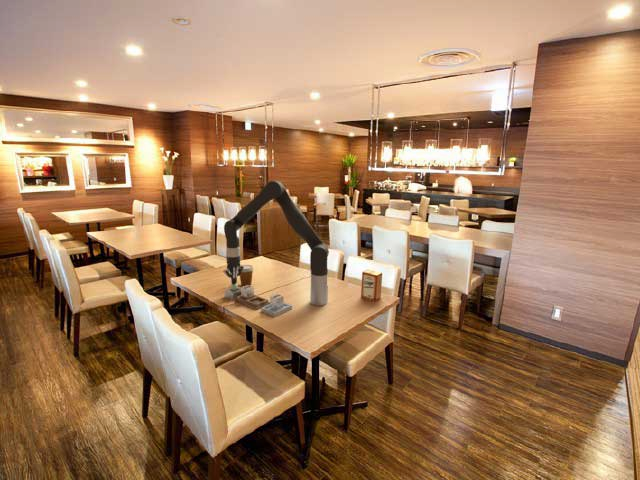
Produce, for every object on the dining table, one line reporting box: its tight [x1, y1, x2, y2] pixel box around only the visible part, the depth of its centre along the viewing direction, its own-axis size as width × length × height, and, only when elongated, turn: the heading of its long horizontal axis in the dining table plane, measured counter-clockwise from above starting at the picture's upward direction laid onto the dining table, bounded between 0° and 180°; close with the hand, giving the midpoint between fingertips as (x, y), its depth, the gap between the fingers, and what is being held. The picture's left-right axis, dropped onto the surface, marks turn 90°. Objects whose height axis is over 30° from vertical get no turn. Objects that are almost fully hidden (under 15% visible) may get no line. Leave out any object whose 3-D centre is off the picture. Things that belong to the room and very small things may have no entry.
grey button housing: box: [224, 286, 241, 302], centre depth 188 cm, size 8×8×4 cm
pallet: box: [234, 294, 270, 311], centre depth 181 cm, size 10×18×2 cm, turn 53°
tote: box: [260, 301, 293, 318], centre depth 173 cm, size 13×10×2 cm
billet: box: [269, 293, 284, 311], centre depth 172 cm, size 5×5×7 cm
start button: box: [230, 283, 238, 291], centre depth 187 cm, size 3×3×4 cm
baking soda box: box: [360, 269, 383, 302], centre depth 191 cm, size 10×6×16 cm
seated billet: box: [240, 285, 255, 300], centre depth 183 cm, size 5×5×7 cm
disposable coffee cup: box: [239, 264, 254, 287], centre depth 207 cm, size 10×10×12 cm
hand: (234, 283), depth 187 cm, fingers closed
